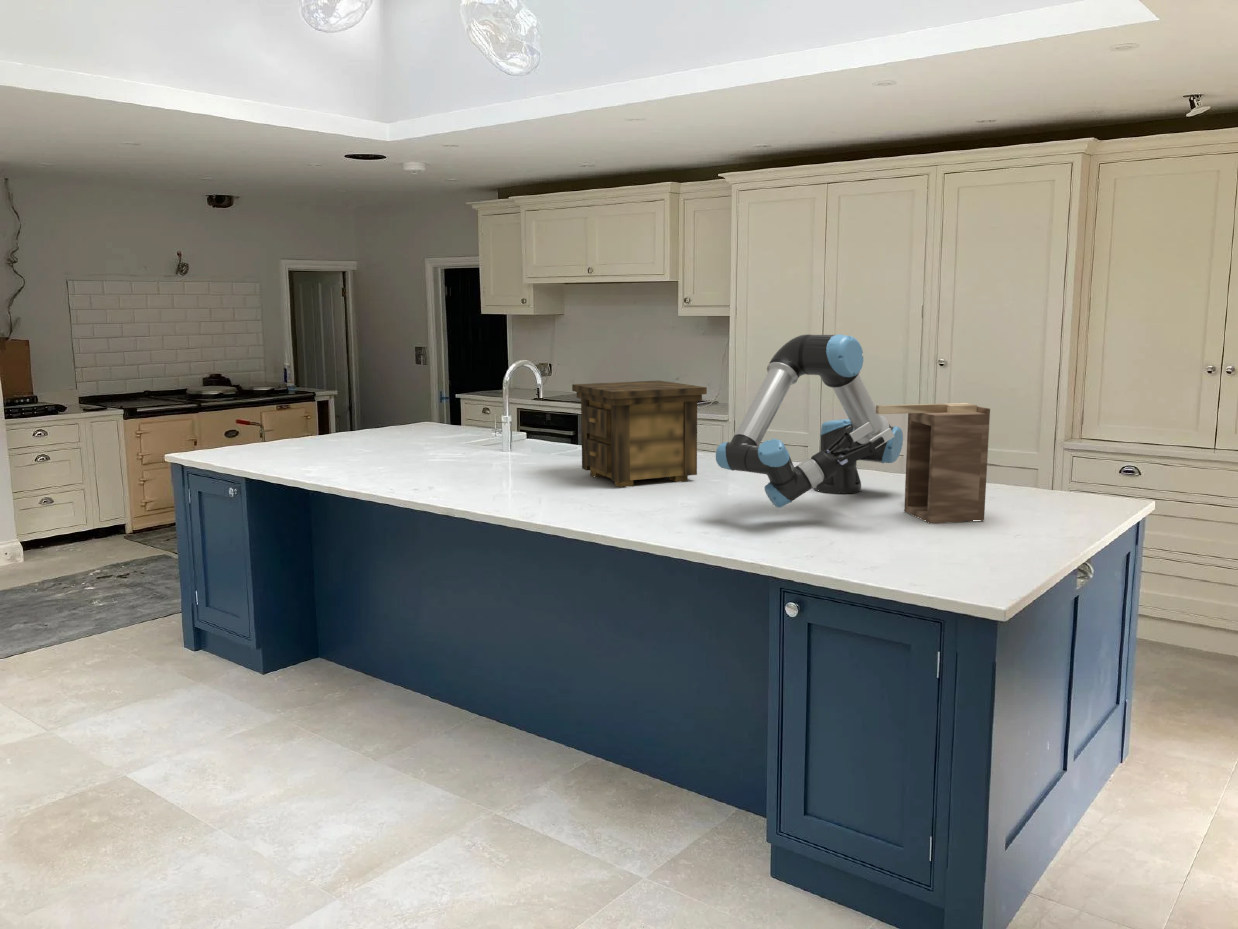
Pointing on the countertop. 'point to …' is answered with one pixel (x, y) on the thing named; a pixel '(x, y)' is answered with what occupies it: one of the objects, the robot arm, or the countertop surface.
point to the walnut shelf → (947, 465)
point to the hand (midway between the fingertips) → (881, 428)
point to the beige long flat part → (926, 408)
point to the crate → (639, 429)
